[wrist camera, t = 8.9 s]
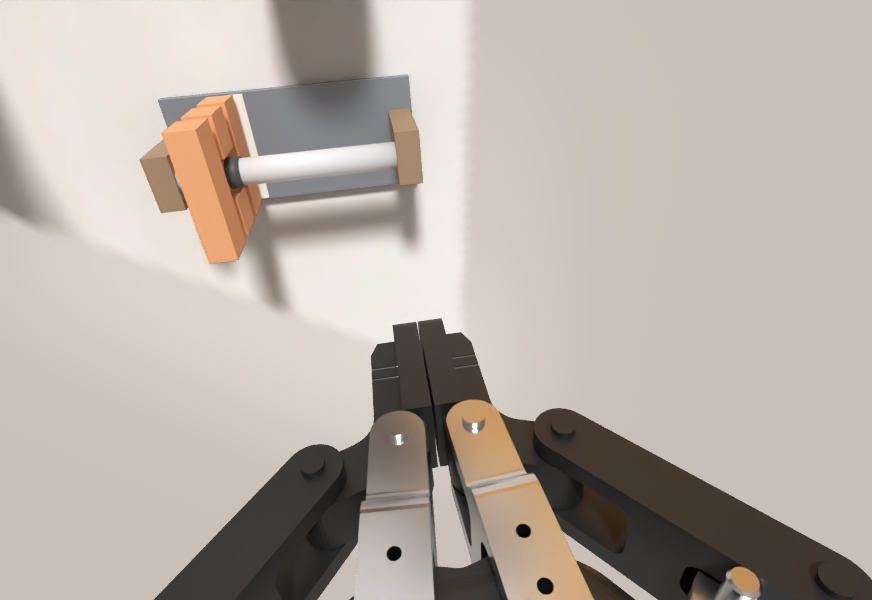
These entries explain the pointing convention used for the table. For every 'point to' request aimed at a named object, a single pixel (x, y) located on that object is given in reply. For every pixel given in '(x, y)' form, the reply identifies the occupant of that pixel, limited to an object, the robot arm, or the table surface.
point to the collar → (213, 176)
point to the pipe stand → (307, 140)
